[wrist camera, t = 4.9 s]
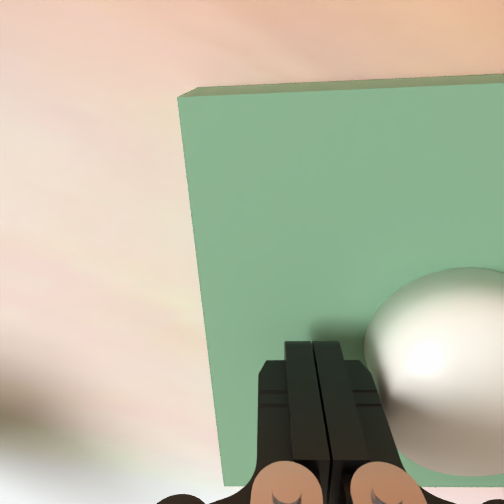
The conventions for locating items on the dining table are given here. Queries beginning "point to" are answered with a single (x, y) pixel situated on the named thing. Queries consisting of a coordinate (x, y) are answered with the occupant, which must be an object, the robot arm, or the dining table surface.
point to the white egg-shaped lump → (443, 370)
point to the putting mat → (332, 219)
